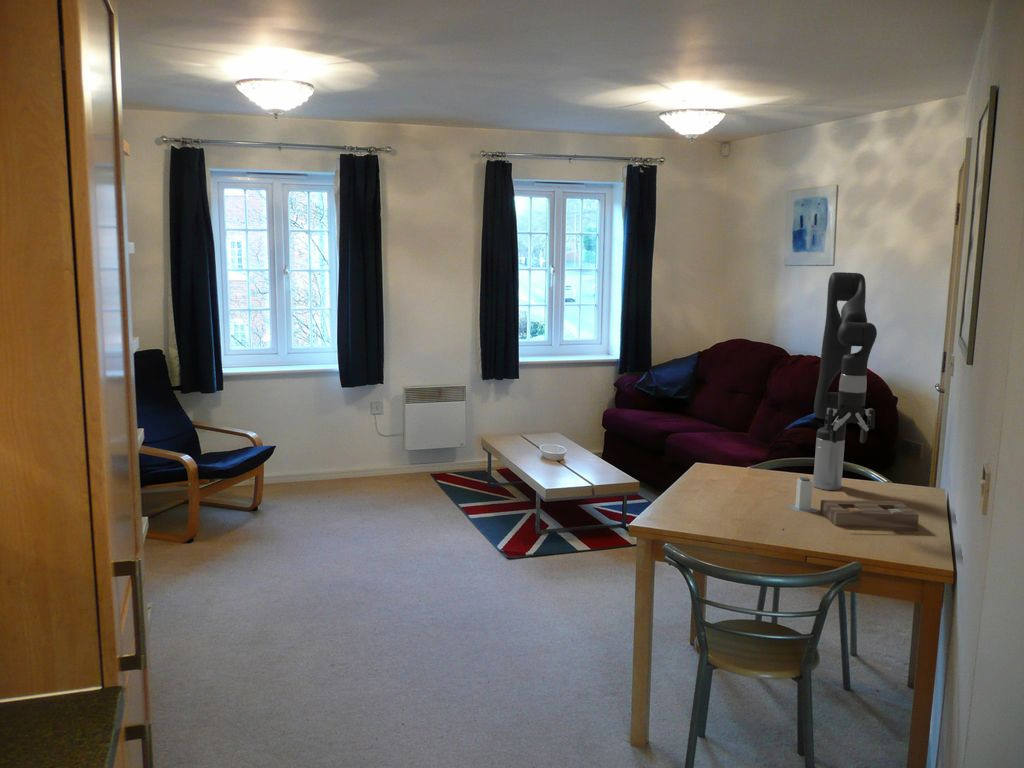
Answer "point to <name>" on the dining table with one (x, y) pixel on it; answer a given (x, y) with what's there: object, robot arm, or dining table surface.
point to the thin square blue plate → (802, 510)
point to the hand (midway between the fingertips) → (848, 442)
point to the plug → (804, 493)
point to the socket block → (870, 514)
